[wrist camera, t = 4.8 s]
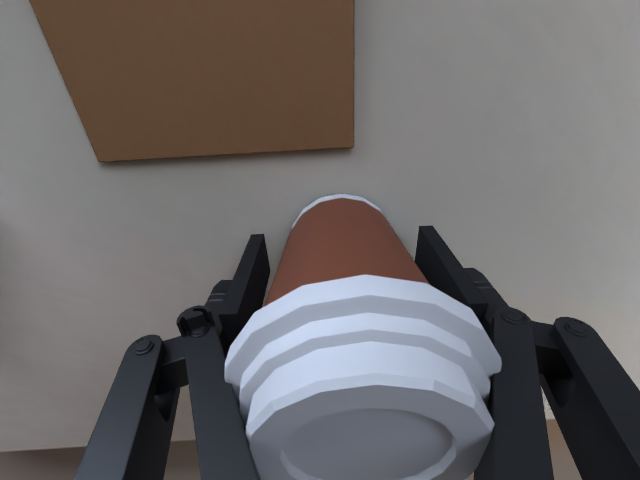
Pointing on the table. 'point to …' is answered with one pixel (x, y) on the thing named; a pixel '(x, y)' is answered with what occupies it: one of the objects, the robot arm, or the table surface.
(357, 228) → the coffee cup
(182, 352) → the robot arm
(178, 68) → the placemat
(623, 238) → the table surface
